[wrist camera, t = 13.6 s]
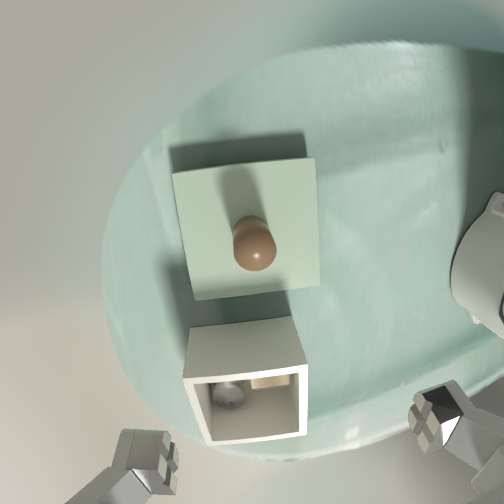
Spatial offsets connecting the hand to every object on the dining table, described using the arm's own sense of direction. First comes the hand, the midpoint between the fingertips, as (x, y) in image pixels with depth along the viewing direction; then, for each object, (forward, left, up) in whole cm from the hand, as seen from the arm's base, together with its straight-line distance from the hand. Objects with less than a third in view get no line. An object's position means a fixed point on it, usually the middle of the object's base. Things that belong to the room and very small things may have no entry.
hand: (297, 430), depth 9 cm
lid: (0, 0, -23) cm, 23 cm away
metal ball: (+5, +18, -22) cm, 29 cm away
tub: (+2, +16, -22) cm, 28 cm away
